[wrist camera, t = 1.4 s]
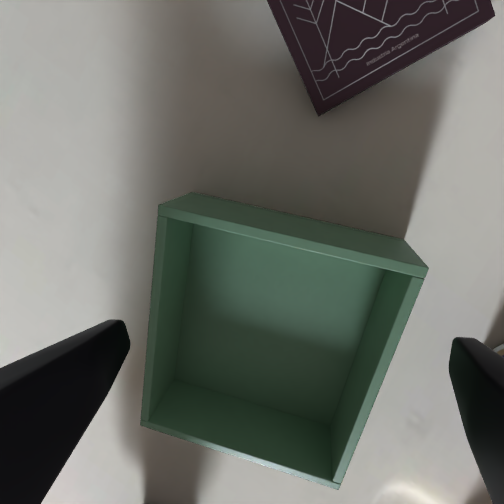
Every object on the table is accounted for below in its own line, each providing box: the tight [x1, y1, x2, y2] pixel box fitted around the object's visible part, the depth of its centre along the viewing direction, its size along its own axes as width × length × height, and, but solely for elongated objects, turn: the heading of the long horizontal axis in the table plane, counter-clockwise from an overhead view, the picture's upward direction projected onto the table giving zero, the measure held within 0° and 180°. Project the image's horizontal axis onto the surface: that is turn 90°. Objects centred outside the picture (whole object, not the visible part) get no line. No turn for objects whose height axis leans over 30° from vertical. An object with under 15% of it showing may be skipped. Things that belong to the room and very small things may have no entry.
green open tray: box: [140, 192, 429, 490], centre depth 22 cm, size 16×14×5 cm
